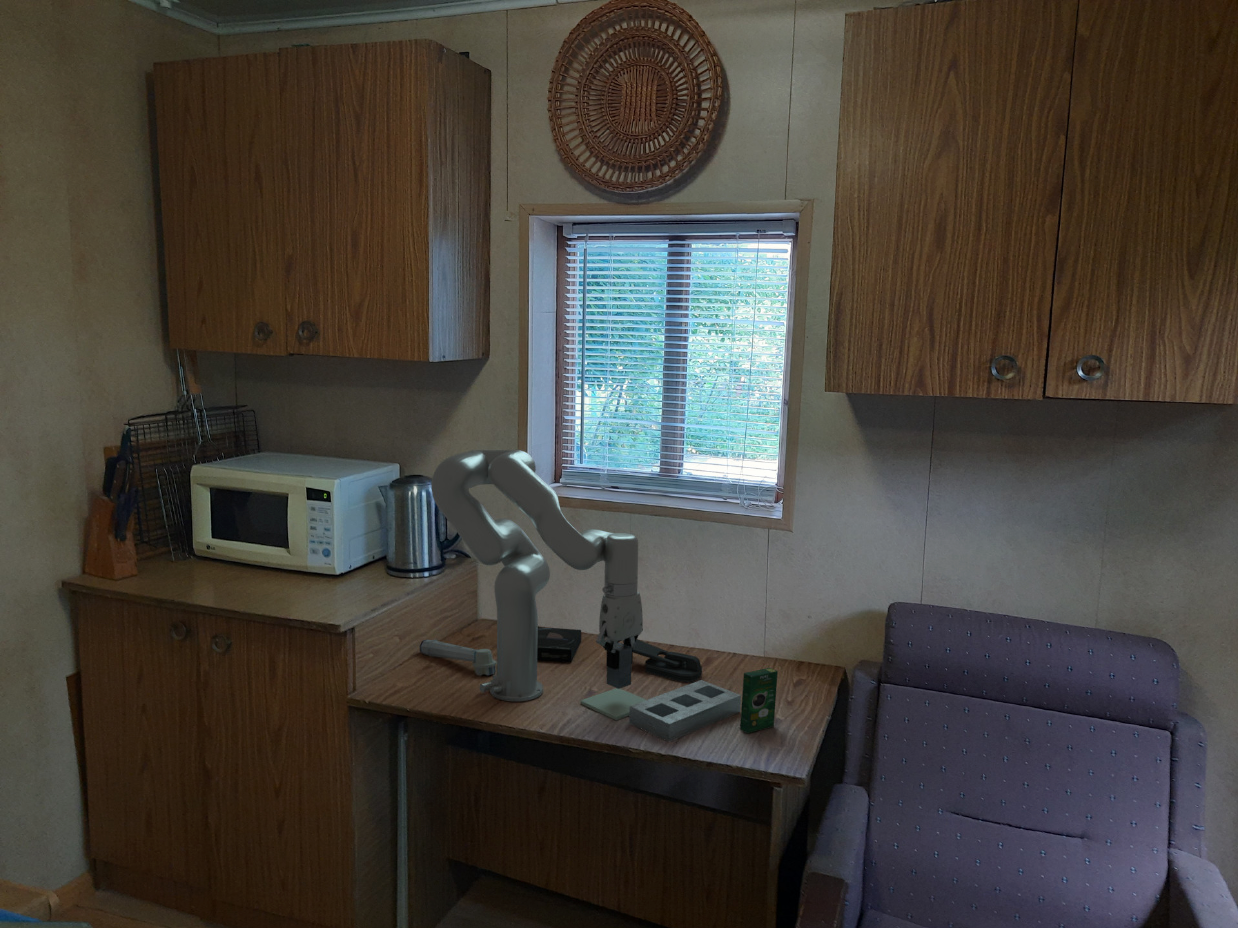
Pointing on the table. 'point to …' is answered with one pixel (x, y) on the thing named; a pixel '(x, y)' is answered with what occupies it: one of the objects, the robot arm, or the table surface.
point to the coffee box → (758, 700)
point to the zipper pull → (668, 663)
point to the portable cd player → (557, 644)
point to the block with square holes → (684, 710)
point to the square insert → (621, 668)
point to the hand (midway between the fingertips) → (619, 664)
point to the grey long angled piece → (461, 655)
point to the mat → (613, 703)
